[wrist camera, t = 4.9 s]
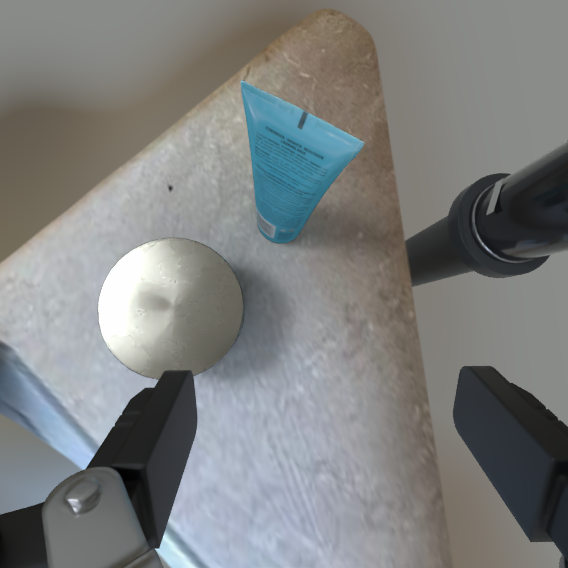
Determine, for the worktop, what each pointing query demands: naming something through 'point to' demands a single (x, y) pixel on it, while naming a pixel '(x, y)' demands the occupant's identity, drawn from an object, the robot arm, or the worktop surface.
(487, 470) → the robot arm
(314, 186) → the tube
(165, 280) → the tea tin
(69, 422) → the worktop surface
